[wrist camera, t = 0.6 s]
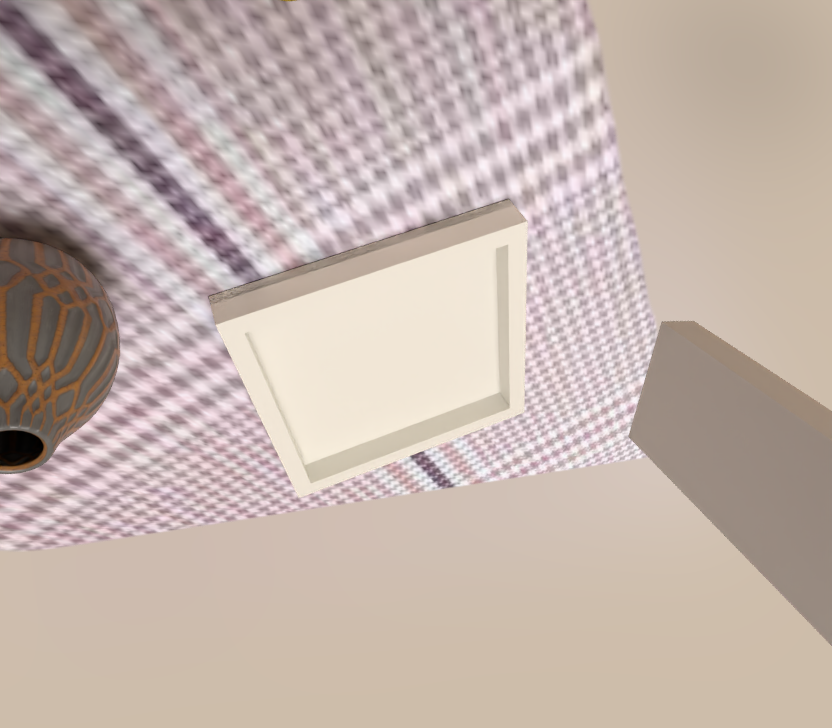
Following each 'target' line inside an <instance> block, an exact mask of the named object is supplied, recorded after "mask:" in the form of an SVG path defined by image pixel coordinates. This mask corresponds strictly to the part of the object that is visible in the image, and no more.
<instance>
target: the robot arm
mask: <svg viewBox="0 0 832 728" xmlns="http://www.w3.org/2000/svg"><path fill="white" fill-rule="evenodd" d="M629 438H630V439H631V440H632V441H633V442H634V443H635V444H636V445H637V446H638V447H639V448H640V449H641V450H642V451H643V452H644V453H645V454H646V455H647V456H648V457H649V458H650V459H651V460H652V461H653V462H654V463H655V465H657V467H658V468H659V469H660V470H661V471H662V472H663V473H664V474H665V475H666V476H667V477H668V478H669V479H670V480H671V481H672V482H673V483H674V484H675V485H676V486H677V487H678V488H679V489H680V490H681V491H682V492H683V493H684V494H685V495H686V496H687V497H688V498H689V500H691V502H692V503H693V504H694V505H695V506H696V507H697V508H698V509H699V510H700V511H701V512H702V513H703V514H704V515H705V516H706V517H707V518H708V519H709V520H710V521H711V522H712V523H713V524H714V525H715V526H716V527H717V528H718V529H719V530H720V531H721V532H722V533H723V534H724V536H725V537H727V539H729V541H730V542H731V543H732V544H733V545H734V546H735V547H736V548H737V549H738V550H739V551H740V552H741V553H742V554H743V555H744V556H745V557H746V558H747V559H748V560H749V561H750V562H751V563H752V564H753V565H754V566H755V567H756V568H757V569H758V570H759V572H760V573H761V574H763V576H764V577H765V578H766V579H767V580H768V581H769V582H770V583H771V584H772V585H773V586H774V587H775V588H776V589H777V590H778V591H779V592H780V593H781V594H782V595H783V596H784V597H785V598H786V599H787V600H788V601H789V602H790V603H791V604H792V605H793V607H794V608H796V609H797V611H798V612H799V613H800V614H801V615H802V616H803V617H804V618H805V619H806V620H807V621H808V622H809V623H810V624H811V625H812V626H813V627H814V628H815V629H816V630H817V631H818V632H819V633H820V634H821V635H822V636H823V637H824V638H825V639H826V640H827V641H828V643H830V645H832V411H831V410H829V409H828V408H826V407H825V406H823V405H821V404H820V403H818V402H817V401H816V400H814V399H812V398H811V397H809V396H808V395H806V394H805V393H803V392H802V391H800V390H799V389H797V388H796V387H794V386H792V385H791V384H789V383H788V382H786V381H785V380H783V379H782V378H780V377H779V376H777V375H776V374H774V373H773V372H771V371H770V370H768V369H767V368H765V367H763V366H762V365H760V364H759V363H757V362H756V361H754V360H753V359H751V358H750V357H748V356H747V355H745V354H743V353H742V352H740V351H739V350H737V349H736V348H734V347H733V346H731V345H730V344H728V343H727V342H725V341H724V340H722V339H721V338H719V337H717V336H716V335H714V334H713V333H711V332H710V331H708V330H707V329H705V328H704V327H702V326H700V325H699V324H698V323H696V322H694V321H670V322H669V321H668V322H662V323H661V326H660V330H659V333H658V336H657V340H656V343H655V347H654V350H653V354H652V357H651V361H650V364H649V368H648V371H647V374H646V378H645V381H644V385H643V388H642V392H641V395H640V399H639V402H638V405H637V409H636V412H635V416H634V419H633V423H632V426H631V430H630V433H629Z"/></svg>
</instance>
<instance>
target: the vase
mask: <svg viewBox="0 0 832 728" xmlns="http://www.w3.org/2000/svg"><path fill="white" fill-rule="evenodd" d="M119 357H120V337H119V330H118V323H117V319H116V316H115V312H114V309H113V306H112V304H111V302H110V300H109V298H108V296H107V294H106V292H105V290H104V289H103V287H102V286H101V284H100V283H99V282H98V280H97V279H96V278H95V277H94V275H93V274H92V273H91V272H90V271H89V270H88V269H87V268H86V267H84V266H83V265H82V264H81V263H80V262H79V261H78V260H76V259H75V258H73V257H72V256H70V255H68V254H67V253H65V252H63V251H61V250H59V249H57V248H54V247H52V246H49V245H46V244H43V243H39V242H35V241H30V240H24V239H9V238H4V239H0V474H15V473H22V472H27V471H30V470H33V469H35V468H37V467H39V466H41V465H43V464H44V463H45V462H47V461H48V460H49V459H50V457H51V456H52V455H53V453H54V452H55V450H56V448H57V447H58V445H59V444H60V443H61V442H62V441H63V440H65V439H66V438H67V437H69V436H70V435H71V434H73V433H74V432H75V431H77V430H78V429H79V428H81V427H82V426H83V425H84V424H85V423H86V422H88V421H89V420H90V419H91V418H92V417H93V415H94V414H95V413H96V412H97V411H98V410H99V408H100V407H101V405H102V404H103V402H104V401H105V399H106V397H107V395H108V393H109V391H110V389H111V387H112V384H113V382H114V379H115V376H116V372H117V368H118V364H119Z"/></svg>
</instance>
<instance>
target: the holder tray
mask: <svg viewBox="0 0 832 728" xmlns="http://www.w3.org/2000/svg"><path fill="white" fill-rule="evenodd" d="M526 277H527V220H526V219H525V218H524V217H523V215H522V214H521V213H520V212H519V211H518V209H517V208H516V207H515V206H514V205H513V203H512V202H511V201H510V200H509V199H507V200H504V201H501V202H498V203H495V204H492V205H489V206H486V207H483V208H479V209H476V210H473V211H470V212H467V213H464V214H461V215H458V216H455V217H452V218H449V219H446V220H443V221H440V222H436V223H433V224H430V225H427V226H424V227H421V228H418V229H415V230H412V231H409V232H406V233H403V234H400V235H396V236H393V237H390V238H387V239H384V240H381V241H378V242H375V243H372V244H369V245H366V246H363V247H360V248H356V249H353V250H350V251H347V252H344V253H341V254H338V255H335V256H332V257H329V258H326V259H323V260H320V261H316V262H313V263H310V264H307V265H304V266H301V267H298V268H295V269H292V270H289V271H286V272H283V273H280V274H276V275H273V276H270V277H267V278H264V279H261V280H258V281H255V282H252V283H249V284H246V285H243V286H240V287H236V288H233V289H230V290H227V291H224V292H221V293H218V294H215V295H212V296H209V300H210V304H211V309H212V313H213V317H214V321H215V325H216V327H217V329H218V331H219V333H220V335H221V337H222V339H223V342H224V344H225V346H226V348H227V350H228V352H229V354H230V356H231V358H232V360H233V362H234V364H235V366H236V369H237V371H238V373H239V375H240V377H241V379H242V381H243V383H244V385H245V387H246V389H247V391H248V394H249V396H250V398H251V400H252V402H253V404H254V406H255V408H256V410H257V412H258V414H259V416H260V418H261V421H262V423H263V425H264V427H265V429H266V431H267V433H268V435H269V437H270V439H271V441H272V443H273V445H274V448H275V450H276V452H277V454H278V456H279V458H280V460H281V462H282V464H283V466H284V468H285V470H286V473H287V475H288V477H289V479H290V481H291V483H292V485H293V487H294V489H295V491H296V493H297V495H298V497H299V498H300V497H303V496H306V495H308V494H311V493H313V492H316V491H319V490H321V489H324V488H327V487H329V486H332V485H334V484H337V483H340V482H342V481H345V480H348V479H350V478H353V477H356V476H358V475H361V474H363V473H366V472H369V471H371V470H374V469H377V468H379V467H382V466H384V465H387V464H390V463H392V462H395V461H398V460H400V459H403V458H406V457H408V456H411V455H413V454H416V453H419V452H421V451H424V450H427V449H429V448H432V447H434V446H437V445H440V444H442V443H445V442H448V441H450V440H453V439H456V438H458V437H461V436H463V435H466V434H469V433H471V432H474V431H477V430H479V429H482V428H484V427H487V426H490V425H492V424H495V423H498V422H500V421H503V420H506V419H508V418H511V417H513V416H516V415H519V414H521V413H524V393H525V335H526Z"/></svg>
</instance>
